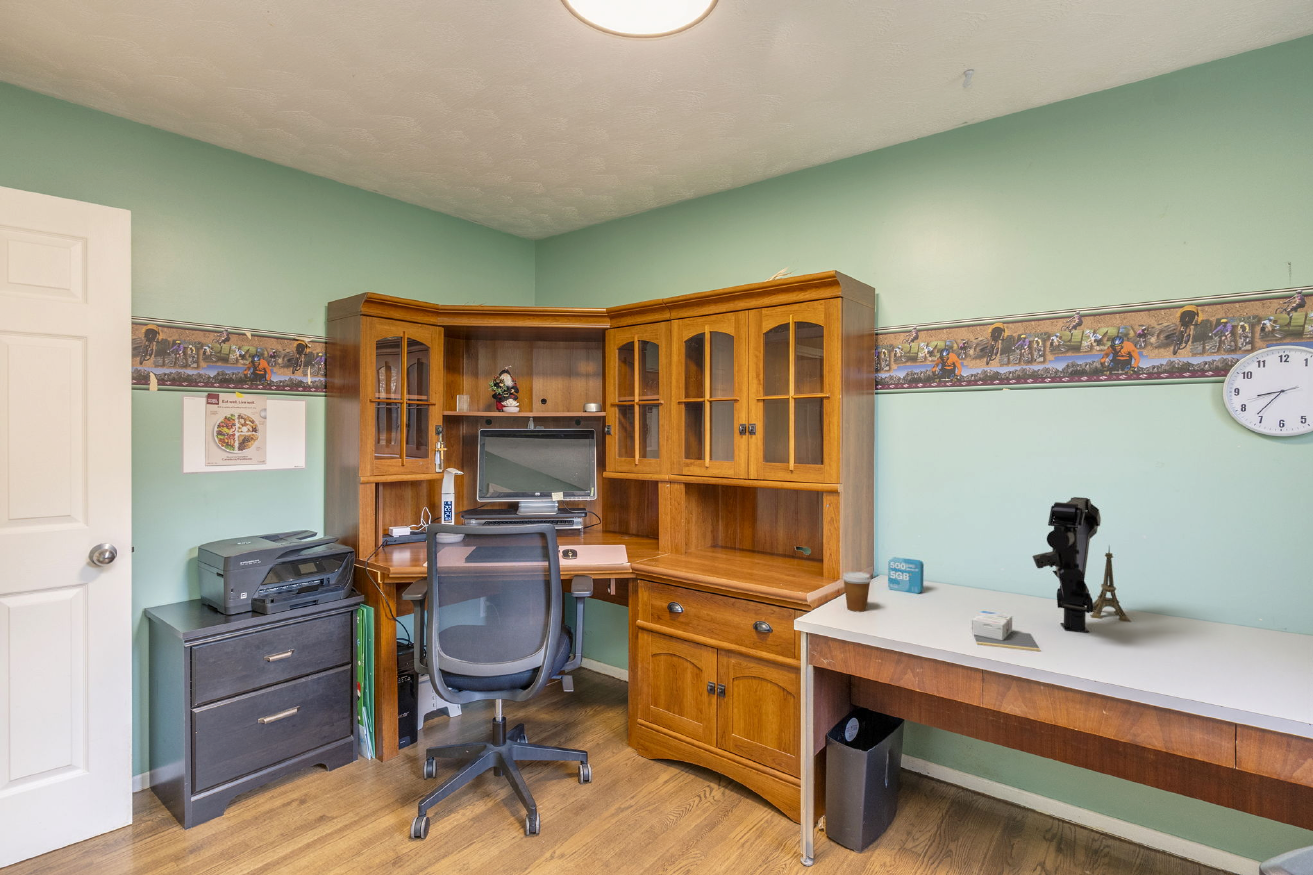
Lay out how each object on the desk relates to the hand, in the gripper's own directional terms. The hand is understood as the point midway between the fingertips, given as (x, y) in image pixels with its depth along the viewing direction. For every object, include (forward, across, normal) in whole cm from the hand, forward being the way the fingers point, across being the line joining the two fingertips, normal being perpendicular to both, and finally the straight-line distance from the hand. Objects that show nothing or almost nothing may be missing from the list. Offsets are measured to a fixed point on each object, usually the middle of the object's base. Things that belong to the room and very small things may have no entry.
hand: (1065, 597), depth 191 cm
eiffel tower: (+13, -32, +18) cm, 39 cm away
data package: (+13, -40, -46) cm, 62 cm away
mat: (+12, +8, -17) cm, 22 cm away
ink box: (+10, -1, -18) cm, 20 cm away
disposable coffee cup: (+13, -7, -60) cm, 62 cm away
